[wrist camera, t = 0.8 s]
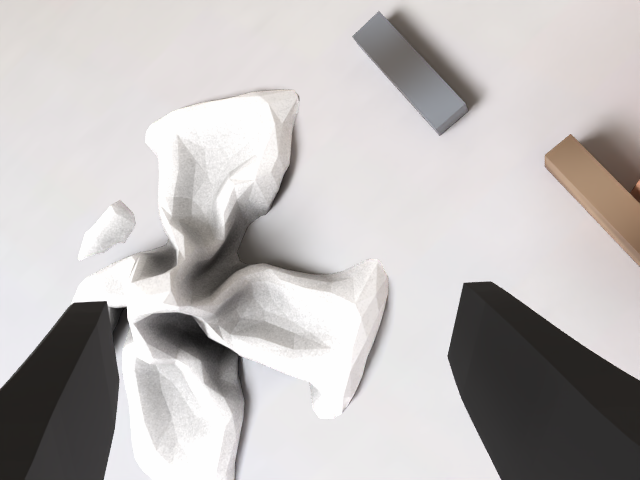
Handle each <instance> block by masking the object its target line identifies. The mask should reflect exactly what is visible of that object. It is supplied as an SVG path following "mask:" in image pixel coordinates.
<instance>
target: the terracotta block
mask: <svg viewBox="0 0 640 480" xmlns="http://www.w3.org/2000/svg"><path fill="white" fill-rule="evenodd" d="M630 194H631V195H632V196H633V197H634V198H635V199H636V200H637V201H638V202H639V203H640V180H639V181H638V183H637V184H636V185H635V187H634V188H633V190H632V191H631V192H630Z"/></svg>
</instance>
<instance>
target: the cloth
mask: <svg viewBox="0 0 640 480" xmlns="http://www.w3.org/2000/svg"><path fill="white" fill-rule="evenodd" d="M298 108H299V98H298V95H297V94H296V92H295V90H272V91H258V92H251V93H247V94H243V95H239V96H235V97H231V98H226V99H220V100H214V101H209V102H203V103H198V104H195V105H191V106H188V107H184V108H181V109H178V110H174V111H172V112H171V113H169V114H168V115H166V116H165V117H163V118H161V119H159V120H157V121H156V122H154V123H153V124H151V125H150V126H149V128H148V130H147V132H146V144H147V145H148V146H149V147H150V148H151V150H152V151H153V152H154V153H155V154H156V155H157V157H158V160H159V189H158V206H159V216H160V219H161V222H162V225H163V229H164V231H165V233H166V235H167V236H168V238H169V239H168V242H167V244H166V245H165V246H163V247H160V248H156V249H153V250H150V251H144V252H139V253H136V254H134V255H131V256H129V257H127V258H124V259H122V260H119V261H117V262H115V263H112V264H111V265H109V266H107V267H105V268H104V269H102V270H100V271H98V272H96V273H94V274H92V275H90V276H88V277H87V278H85V279H84V281H83V282H82V283H81V284H80V285H79V287H78V289H77V292H76V294H75V296H74V298H73V301H72V303H73V302H93V301H107V304H108V311H109V317H110V323H111V330H112V333H113V331H114V329H115V327H116V325H117V323H118V320H119V317H120V314H121V312H122V310H123V308H124V307H127V318H128V321H129V325H130V328H129V331H128V334H127V337H126V340H125V344H124V347H123V350H122V362H123V378H124V382H125V387H126V392H127V396H128V401H129V408H130V420H131V433H132V444H133V449H134V455H135V459H136V461H137V462H138V464H139V466H140V467H141V468H142V470H143V471H144V472H145V473H146V474H148V475H149V476H150V477H151V478H152V479H153V480H235V459H236V454H237V449H238V443H239V438H240V433H241V428H242V422H243V415H244V402H245V401H244V397H243V393H242V388H241V384H240V380H239V376H238V355H240V356H241V357H244V358H247V359H250V360H252V361H255V362H258V363H261V364H263V365H265V366H268V367H270V368H272V369H274V370H277V371H279V372H281V373H284V374H287V375H290V376H293V377H296V378H299V379H302V380H305V381H308V382H309V385H310V390H311V399H312V408H313V410H314V411H315V413H316V414H317V416H318V417H319V418H333V419H334V418H335V417H336V416H338V415H340V414H342V412H343V410H344V409H345V408H346V407H347V406H348V404H349V403H350V401H351V399H352V397H353V396H354V394H355V392H356V390H357V388H358V385H359V383H360V380H361V378H362V376H363V372H364V368H365V364H366V360H367V356H368V354H369V352H370V350H371V348H372V345H373V343H374V340H375V337H376V334H377V332H378V329H379V326H380V323H381V319H382V316H383V313H384V309H385V304H386V300H387V296H388V276H387V274H386V272H385V271H384V268H383V266H382V263H381V261H380V260H379V259H367V260H365V261H363V262H361V263H359V264H357V265H355V266H353V267H350V268H348V269H346V270H344V271H341V272H337V273H333V274H308V273H302V272H298V271H293V270H288V269H283V268H280V267H277V266H273V265H269V264H266V263H261V264H252V265H249V264H246V263H243V262H241V261H240V260H239V257H238V254H237V250H238V248H239V246H240V243H241V241H242V239H243V236H244V234H245V232H246V229H247V227H248V226H249V225H250V224H251V223H252V222H253V221H255V220H256V219H257V218H259V217H260V216H263V215H266V214H267V212H268V211H269V210H270V208H271V207H272V204H273V201H274V199H275V196H276V194H277V192H278V190H279V187H280V184H281V181H282V178H283V175H284V174H285V172H286V170H287V168H288V167H289V164H290V155H291V141H292V131H293V127H294V122H295V117H296V115H297V113H298ZM135 224H136V222H135V217H134V214H133V212H132V211H131V210H130V209H129V208H128V207H127V206H126V205H125V204H124V203H123V202H122V201H121V200H119V201H117V202H115V203H114V204H112V205H110V207H109V208H108V209H107V210H106V211H105V213H104V214H103V215H102V216H101V217H100V219H99V220H98V221H97V222H96V223H95V224H94V225H93V226H92V228H91V229H90V230H88V231H87V232H86V233H85V235H84V239H83V242H82V246H81V249H80V253H79V256H78V259H79V260H80V261H81V260H82V259H84V258H87V257H90V256H93V255H96V254H100V253H104V252H106V251H107V250H108V249H110V248H111V247H113V246H114V245H116V244H117V243H125V241H126V240H127V238H128V237H129V235H130V233H131V232H132V230H133V228H134V226H135ZM72 303H71V304H72Z"/></svg>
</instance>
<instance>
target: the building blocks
mask: <svg viewBox="0 0 640 480" xmlns="http://www.w3.org/2000/svg"><path fill="white" fill-rule="evenodd" d="M352 37H353V38H354V39H355V41H356V42H357V44H358V45H359V46H360V47H361V49H362V50H363V51H364V52H365V53H366V54H367V55H368V56H369V57H370V59H371V60H372V61H373V62H374V63H375V64H376V65H377V66H378V67H379V69H380V70H381V71H382V72H383V73H384V74H385V75H386V76H387V78H388V79H389V80H390V81H391V82H392V83H393V84H394V85H395V86H396V88H397V89H398V90H399V91H400V92H401V93H402V94H403V95H404V96H405V98H406V99H407V100H408V101H409V102H410V103H411V104H412V105H413V107H414V108H415V109H416V110H417V111H418V112H419V113H420V114H421V115H422V117H423V118H424V119H425V120H426V121H427V122H428V123H429V124H430V126H431V127H432V128H433V129H434V130H435V131H436V132H437V133H438V134H439V136H440V135H441V134H442V133H443V132H445V131H446V130H447V129H448V128H449V127H450V126H451V125H453V124H454V123H455V122H456V121H457V120H458V119H460V118H461V117H462V116H463V115H464V114H465V113H467V112H468V108H467V106H466V103H465V102H464V101H463V100H462V99H461V98H460V97H459V96H458V95H457V94H456V93H455V92H454V91H453V90H452V89H451V87H450V86H449V85H448V84H447V83H446V82H445V81H444V80H443V79H442V78H441V77H440V76H439V75H438V74H437V72H436V71H435V70H434V69H433V68H432V67H431V66H430V65H429V64H428V63H427V62H426V61H425V60H424V59H423V58H422V56H421V55H420V54H419V53H418V52H417V51H416V50H415V49H414V48H413V47H412V46H411V45H410V44H409V43H408V42H407V40H406V39H405V38H404V37H403V36H402V35H401V34H400V33H399V32H398V31H397V30H396V29H395V28H394V27H393V25H392V24H391V23H390V22H389V21H388V20H387V19H386V18H385V17H384V16H383V15H382V14H381V13H380V12H378V13H377V14H376V15H374V16H373V17H372V18H371V19H370V20H369V21H368V22H367V23H366V24H365V25H364V26H363V27H362V28H361V29H360V30H359V31H358V32H356V33H355V34H354V35H353V36H352ZM545 167H546V168H547V170H548V171H549V172H550V173H551V174H552V175H553V176H554V177H555V178H556V179H557V180H558V181H559V182H560V183H561V184H562V185H563V186H564V187H565V188H566V190H567V191H568V192H569V193H570V194H571V195H572V196H573V197H574V198H575V199H576V200H577V201H578V202H579V203H580V204H581V205H582V206H583V207H584V208H585V210H586V211H587V212H588V213H589V214H590V215H591V216H592V217H593V218H594V219H595V220H596V221H597V222H598V223H599V224H600V225H601V226H602V227H603V228H604V230H605V231H606V232H607V233H608V234H609V235H610V236H611V237H612V238H613V239H614V240H615V241H616V242H617V243H618V244H619V245H620V246H621V247H622V248H623V250H624V251H625V252H626V253H627V254H628V255H629V256H630V257H631V258H632V259H633V260H634V261H635V262H636V263H637V264H638V265H639V266H640V203H639V202H638V201H637V200H636V199H635V198H634V197H633V196H632V195H631V194H630V193H629V192H628V191H627V190H626V189H625V188H624V187H623V186H622V185H621V184H620V183H619V182H618V181H617V180H616V179H615V178H614V177H613V176H612V175H611V174H610V173H609V172H608V171H607V170H606V169H605V168H604V167H603V166H602V165H601V164H600V163H599V162H598V161H597V160H596V159H595V158H594V157H593V156H592V155H591V154H590V153H589V152H588V151H587V150H586V149H585V148H584V147H583V146H582V145H581V144H580V143H579V142H578V141H577V140H576V139H575V138H574V137H573V136H572V135H571V134H570V135H569V136H568V137H566V138H565V139H564V140H563V141H561V142H560V143H559V144H558V145H557V146H555V147H554V148H553V149H552V150H550V151H549V152H548V153H547V154H546V155H545Z"/></svg>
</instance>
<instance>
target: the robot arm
mask: <svg viewBox="0 0 640 480" xmlns="http://www.w3.org/2000/svg"><path fill="white" fill-rule="evenodd" d="M448 360H449V363H450V366H451V369H452V372H453V376H454V379H455V382H456V385H457V387H458V390H459V393H460V396H461V399H462V401H463V403H464V405H465V407H466V409H467V411H468V413H469V416H470V418H471V420H472V422H473V424H474V426H475V428H476V430H477V432H478V434H479V436H480V438H481V440H482V442H483V444H484V446H485V448H486V450H487V452H488V454H489V456H490V458H491V460H492V462H493V464H494V466H495V468H496V470H497V472H498V474H499V476H500V478H501V480H640V381H639V380H638V379H636V378H634V377H633V376H631V375H629V374H627V373H626V372H624V371H622V370H621V369H619V368H617V367H616V366H614V365H613V364H611V363H610V362H608V361H606V360H605V359H603V358H602V357H600V356H598V355H597V354H595V353H594V352H592V351H591V350H589V349H588V348H586V347H585V346H583V345H582V344H580V343H579V342H577V341H576V340H574V339H573V338H571V337H570V336H568V335H567V334H565V333H564V332H563V331H561V330H560V329H558V328H557V327H555V326H554V325H553V324H551V323H550V322H548V321H547V320H546V319H544V318H543V317H541V316H540V315H539V314H537V313H536V312H534V311H533V310H532V309H530V308H529V307H528V306H526V305H525V304H523V303H522V302H521V301H519V300H518V299H516V298H515V297H514V296H512V295H511V294H509V293H508V292H506V291H505V290H503V289H502V288H500V287H499V286H497V285H496V284H494V283H493V282H472V283H464V284H463V289H462V293H461V298H460V302H459V307H458V311H457V316H456V320H455V325H454V329H453V334H452V338H451V343H450V347H449V352H448ZM118 390H119V374H118V368H117V362H116V355H115V349H114V342H113V336H112V330H111V323H110V317H109V311H108V304H107V301H93V302H73V303H72V304H71V305H70V306H69V307H68V308H67V310H66V311H65V312H64V314H63V315H62V316H61V317H60V319H59V320H58V321H57V322H56V324H55V325H54V326H53V328H52V329H51V330H50V331H49V333H48V334H47V335H46V336H45V338H44V339H43V340H42V341H41V343H40V344H39V345H38V346H37V347H36V349H35V350H34V351H33V352H32V353H31V355H30V356H29V357H28V358H27V359H26V360H25V362H24V363H23V364H22V365H21V366H20V367H19V369H18V370H17V371H16V372H15V373H14V374H13V375H12V377H11V378H10V379H9V380H8V381H7V382H6V383H5V384H4V386H3V387H2V388H1V389H0V480H104V475H105V471H106V466H107V462H108V457H109V453H110V448H111V443H112V439H113V434H114V429H115V421H116V412H117V401H118Z"/></svg>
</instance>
